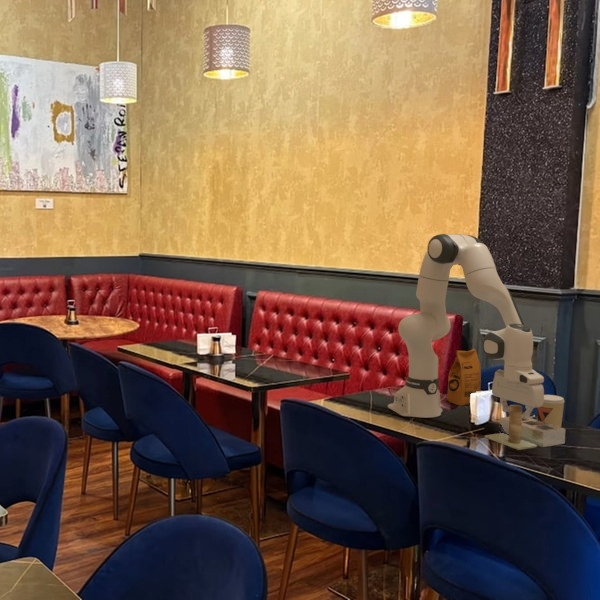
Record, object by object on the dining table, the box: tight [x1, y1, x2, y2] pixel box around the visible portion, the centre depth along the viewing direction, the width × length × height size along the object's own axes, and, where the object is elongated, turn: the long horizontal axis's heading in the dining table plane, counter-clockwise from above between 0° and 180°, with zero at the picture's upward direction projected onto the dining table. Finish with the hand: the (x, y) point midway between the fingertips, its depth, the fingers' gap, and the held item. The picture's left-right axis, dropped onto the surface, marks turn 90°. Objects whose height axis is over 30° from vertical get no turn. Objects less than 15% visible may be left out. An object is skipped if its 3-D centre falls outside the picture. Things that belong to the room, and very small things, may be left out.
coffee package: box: [446, 348, 482, 407], centre depth 295 cm, size 10×12×22 cm
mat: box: [484, 432, 538, 451], centre depth 240 cm, size 16×8×1 cm, turn 27°
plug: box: [508, 404, 523, 443], centre depth 238 cm, size 4×4×12 cm
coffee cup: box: [536, 394, 565, 428], centre depth 254 cm, size 9×9×12 cm
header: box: [499, 414, 566, 448], centre depth 245 cm, size 20×10×5 cm, turn 27°
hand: (515, 414), depth 237 cm, fingers open, 8 cm apart
